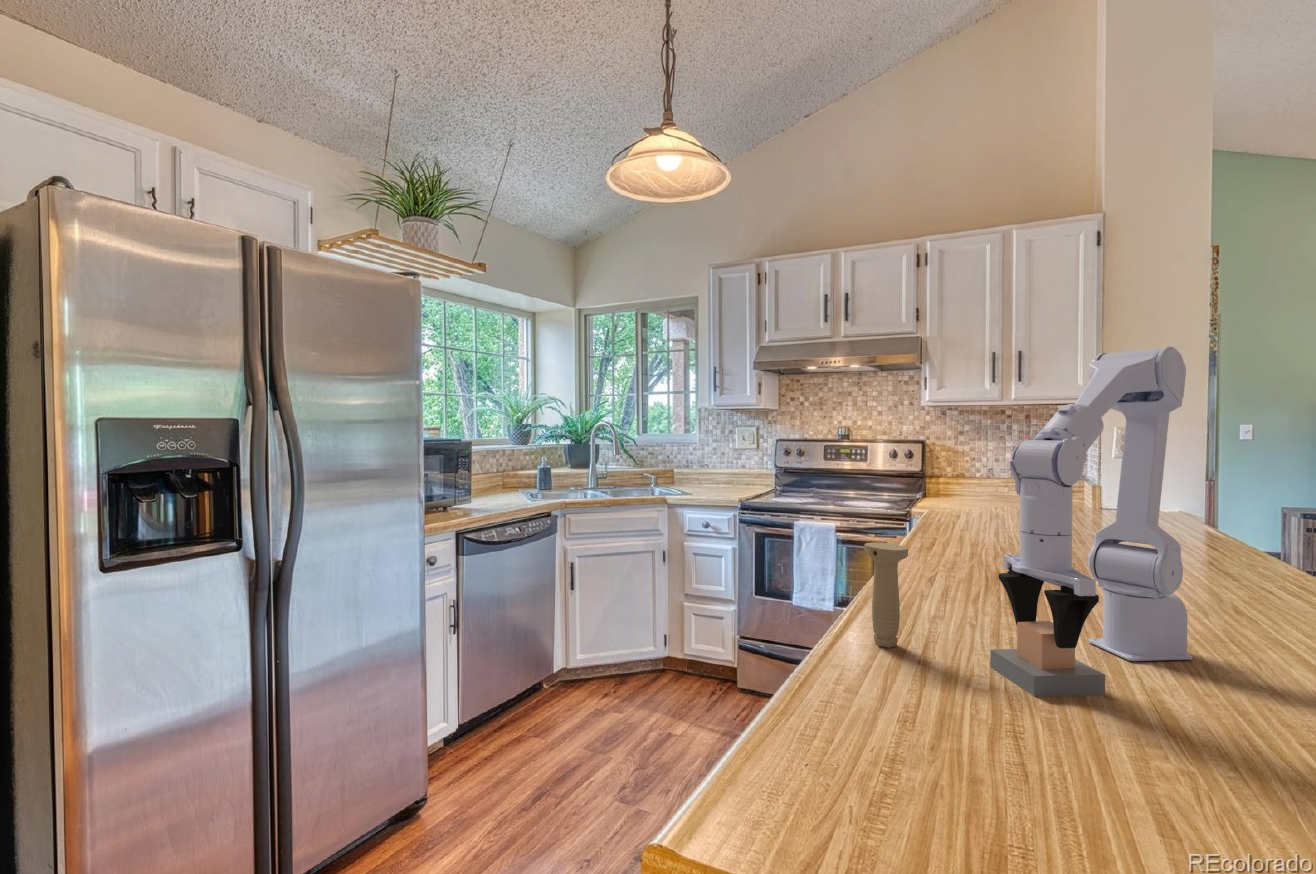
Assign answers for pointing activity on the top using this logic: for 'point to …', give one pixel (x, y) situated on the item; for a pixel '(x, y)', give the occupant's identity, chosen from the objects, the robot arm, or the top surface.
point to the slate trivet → (1047, 676)
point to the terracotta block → (1042, 646)
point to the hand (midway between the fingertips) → (1044, 636)
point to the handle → (885, 591)
